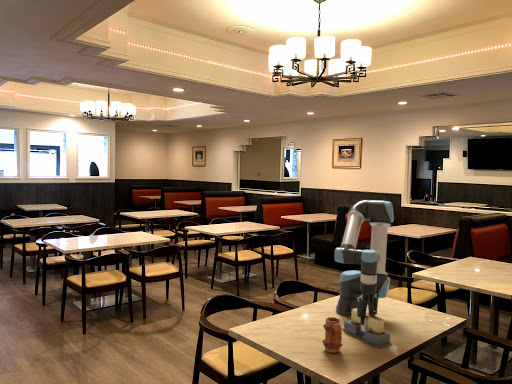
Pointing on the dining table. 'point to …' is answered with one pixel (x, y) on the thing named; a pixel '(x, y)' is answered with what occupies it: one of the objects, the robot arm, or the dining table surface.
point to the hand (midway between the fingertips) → (366, 330)
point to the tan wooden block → (369, 322)
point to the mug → (332, 335)
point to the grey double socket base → (367, 335)
